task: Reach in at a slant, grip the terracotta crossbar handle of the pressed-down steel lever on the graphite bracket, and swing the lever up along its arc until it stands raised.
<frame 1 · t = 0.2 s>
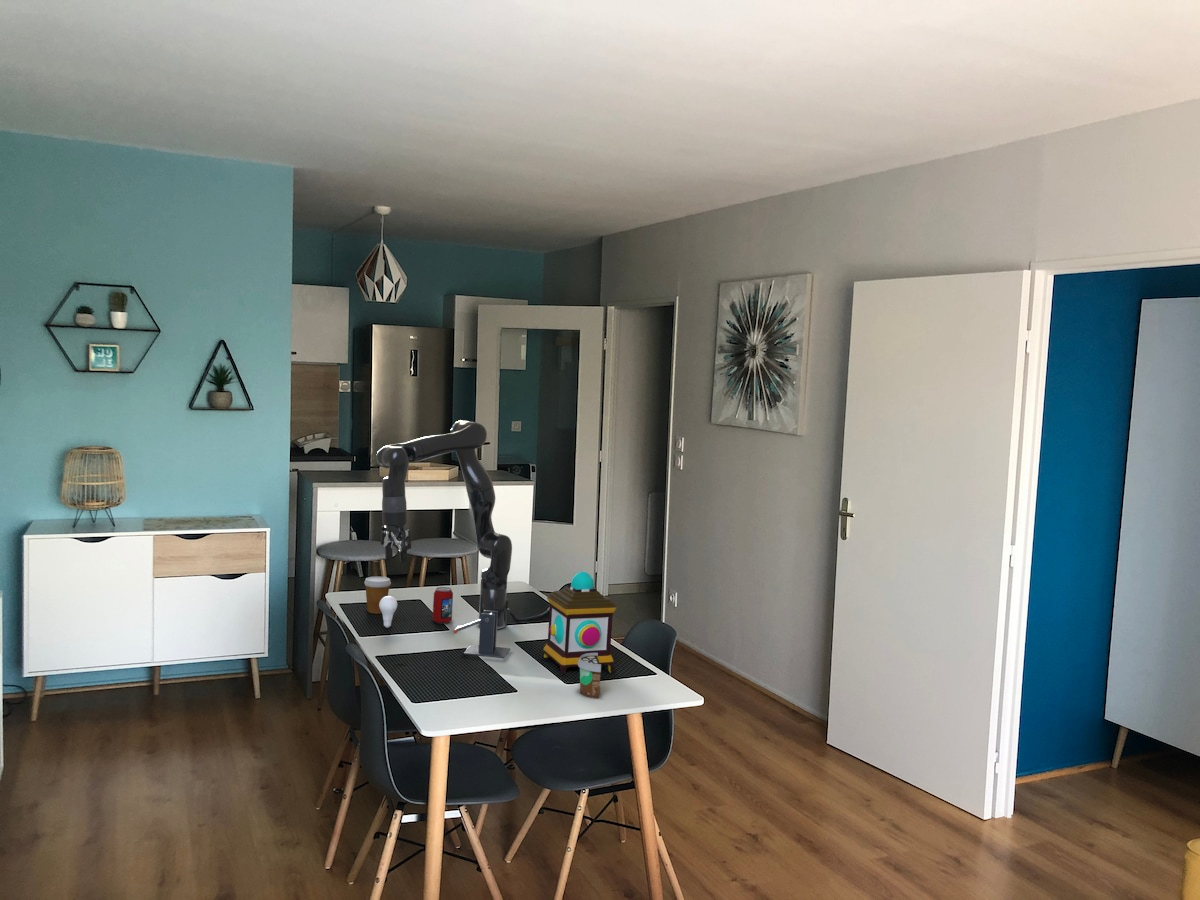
hand: (396, 560, 297), 28 cm above the table, tool pointing down, fingers open, 8 cm apart
decorative lantern: (577, 667, 293), on the table
lightbulb: (387, 628, 323), on the table
lever: (474, 623, 298), point 10 cm above the table, hinge at -25.0°
bracket: (486, 655, 298), on the table
beverage can: (441, 622, 335), on the table
disposable coffee cup: (376, 611, 343), on the table
food container: (586, 693, 269), on the table
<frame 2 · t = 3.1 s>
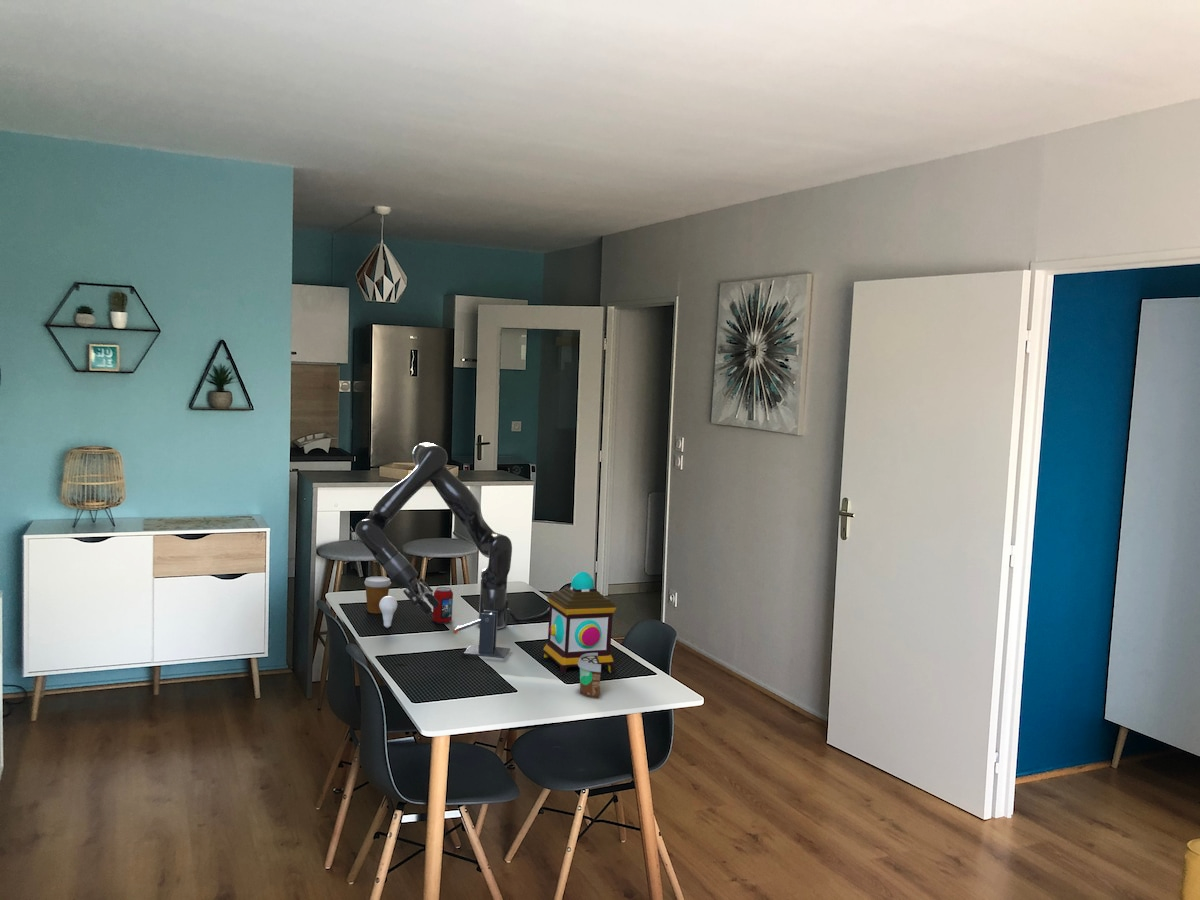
hand: (433, 609, 299), 13 cm above the table, tool tilted 45°, fingers open, 8 cm apart
nothing on the table moved.
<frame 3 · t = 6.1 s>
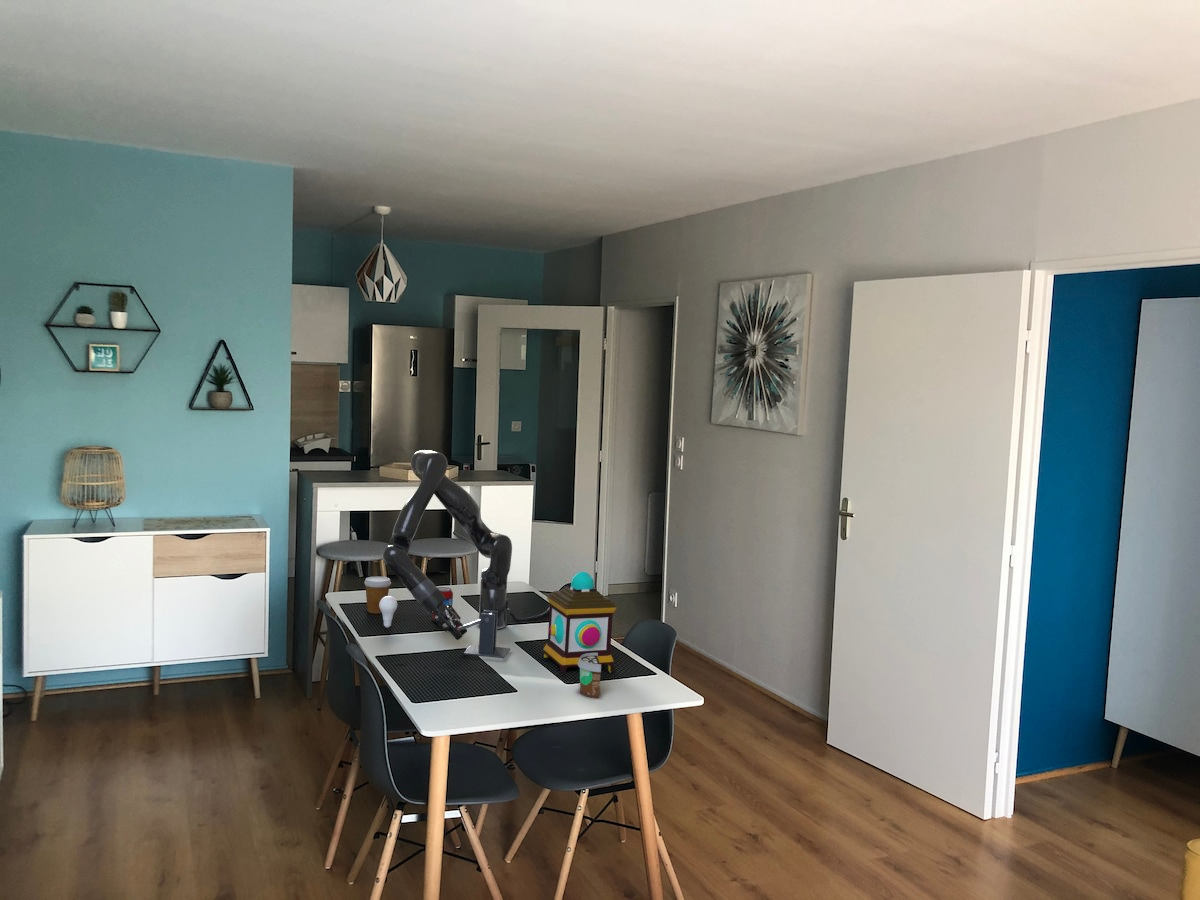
hand: (462, 635, 299), 6 cm above the table, tool tilted 45°, fingers closed on lever, 5 cm apart
lever: (474, 623, 298), point 10 cm above the table, hinge at -25.1°, touching gripper
everything else where it was.
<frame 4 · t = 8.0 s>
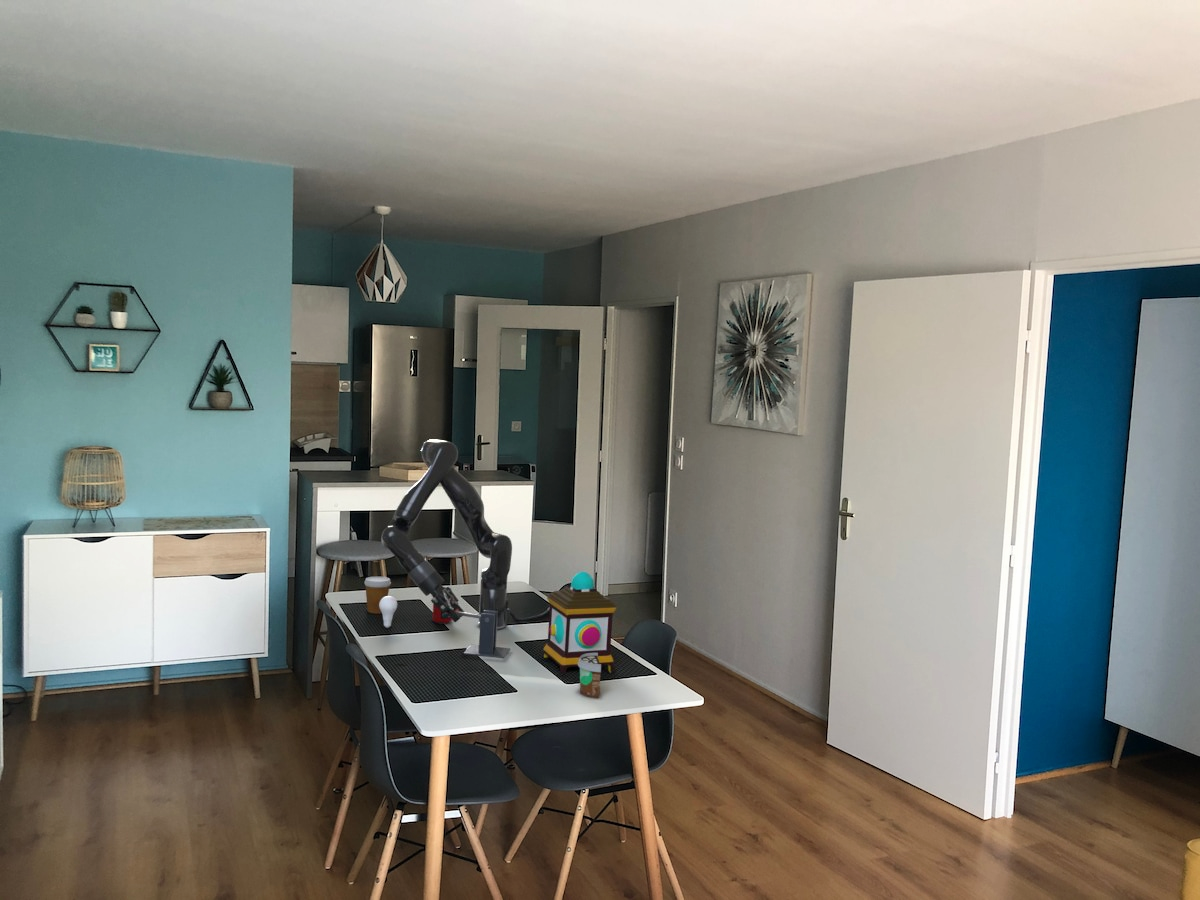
hand: (460, 617, 299), 11 cm above the table, tool tilted 45°, fingers closed on lever, 5 cm apart
lever: (473, 615, 298), point 12 cm above the table, hinge at 3.6°, touching gripper
everything else where it was.
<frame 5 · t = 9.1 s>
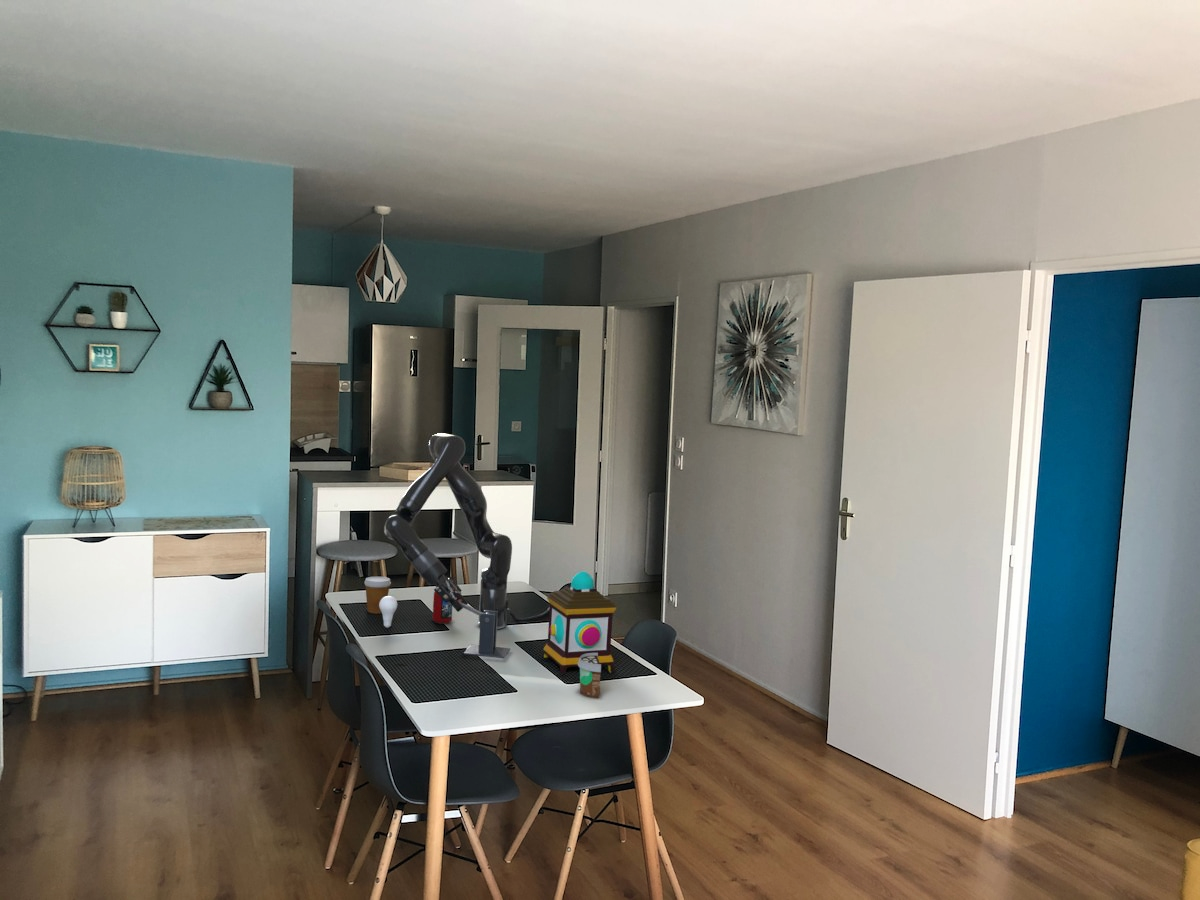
hand: (463, 607, 298), 15 cm above the table, tool tilted 45°, fingers closed on lever, 5 cm apart
lever: (474, 611, 298), point 14 cm above the table, hinge at 21.0°, touching gripper
everything else where it was.
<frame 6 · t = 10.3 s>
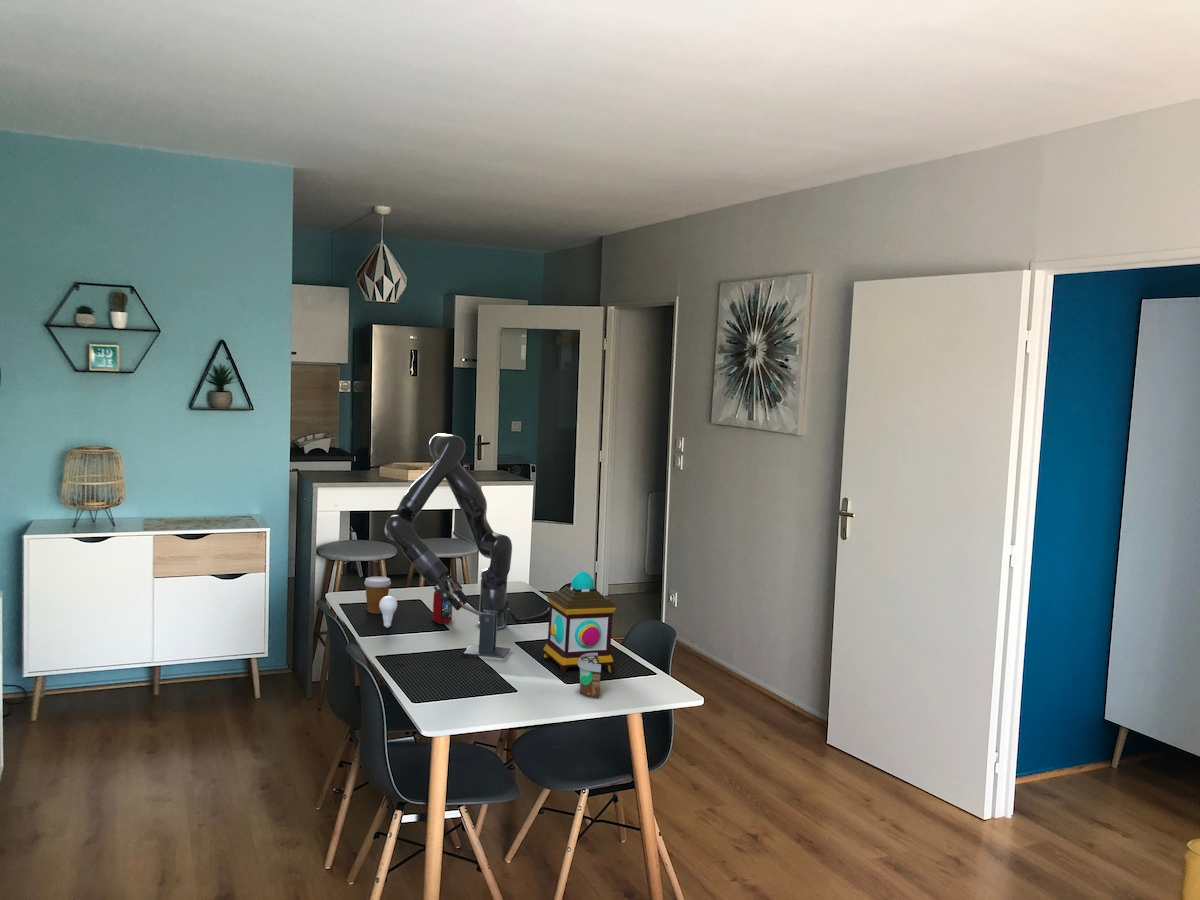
hand: (463, 605, 298), 15 cm above the table, tool tilted 45°, fingers open, 8 cm apart
lever: (474, 611, 298), point 14 cm above the table, hinge at 19.8°
everything else where it was.
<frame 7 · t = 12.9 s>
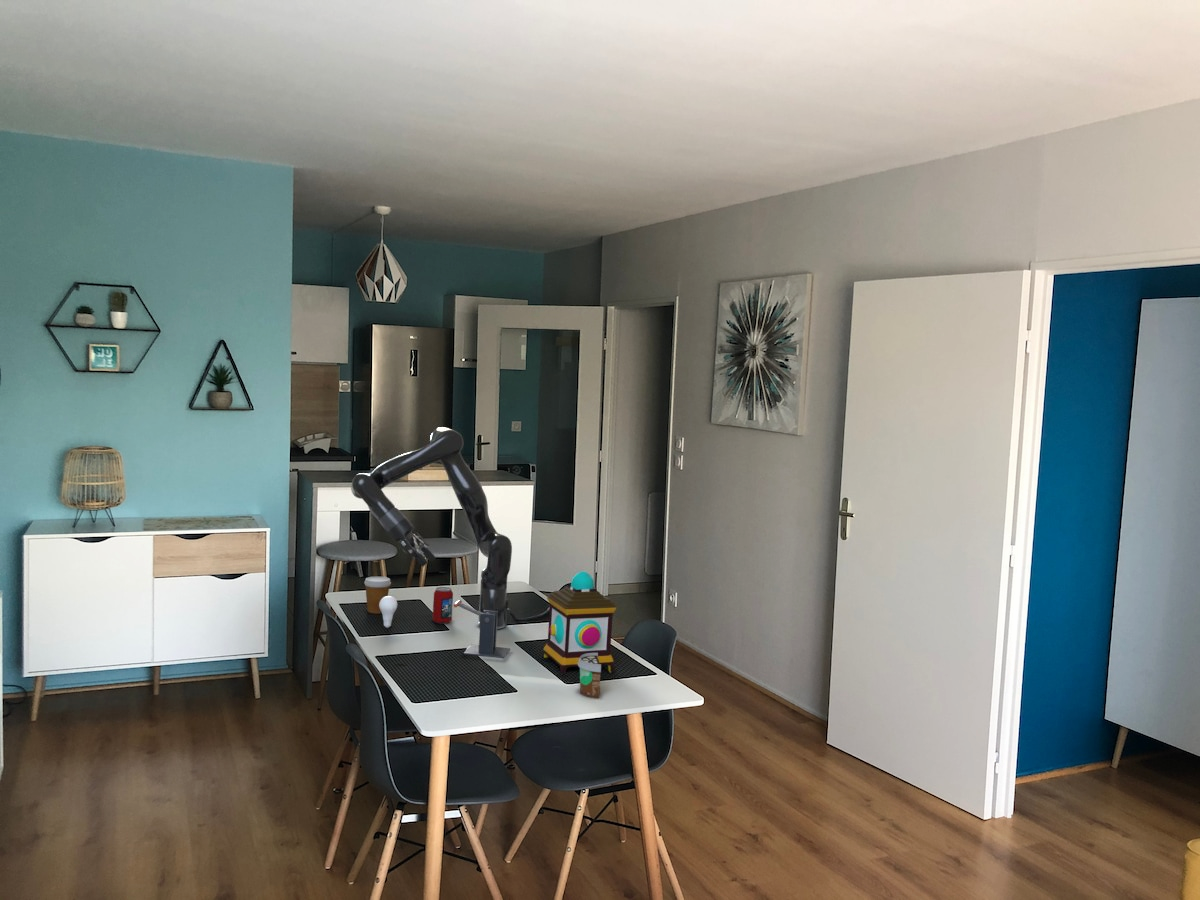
hand: (429, 562, 303), 27 cm above the table, tool tilted 45°, fingers open, 8 cm apart
nothing on the table moved.
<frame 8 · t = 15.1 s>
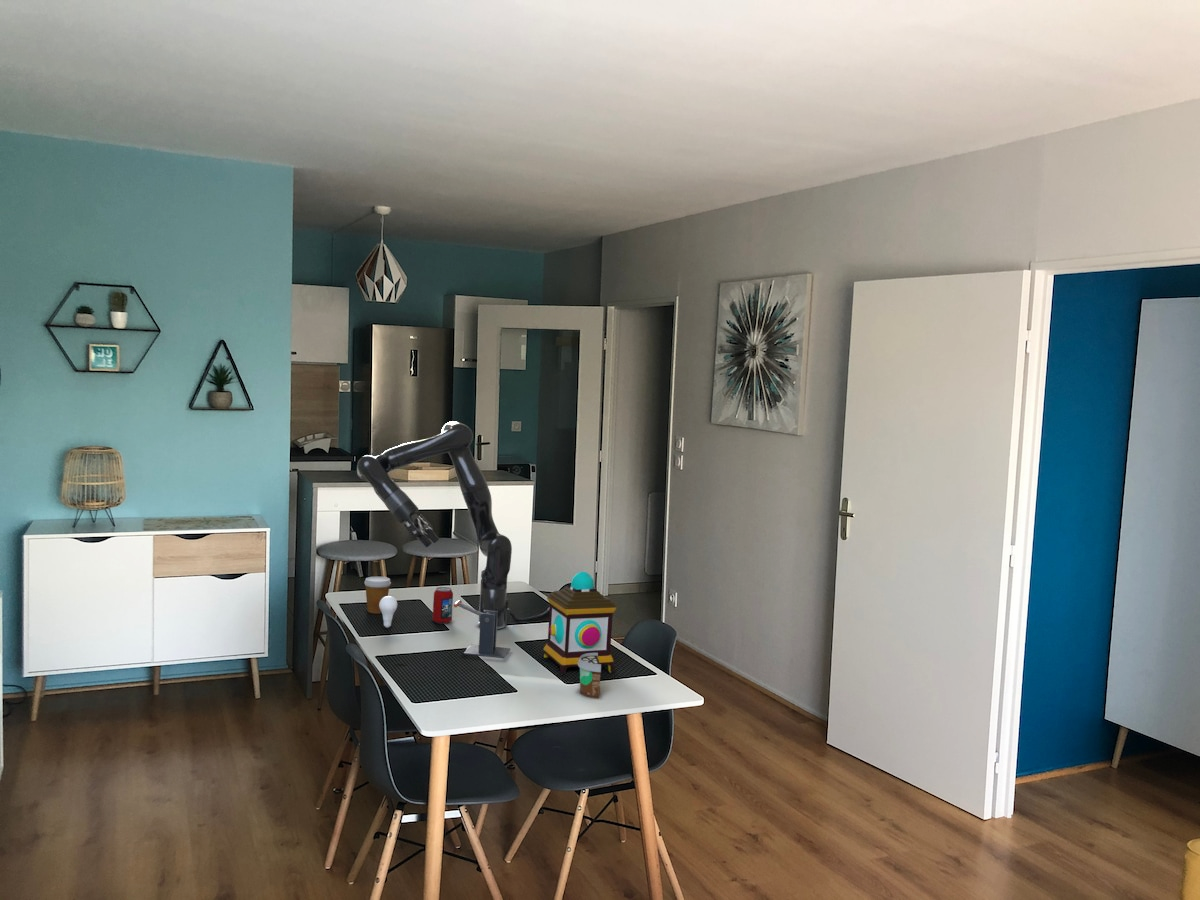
hand: (433, 543, 307), 33 cm above the table, tool tilted 45°, fingers open, 8 cm apart
nothing on the table moved.
at the end: lever at +20° (first picture: -25°) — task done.
